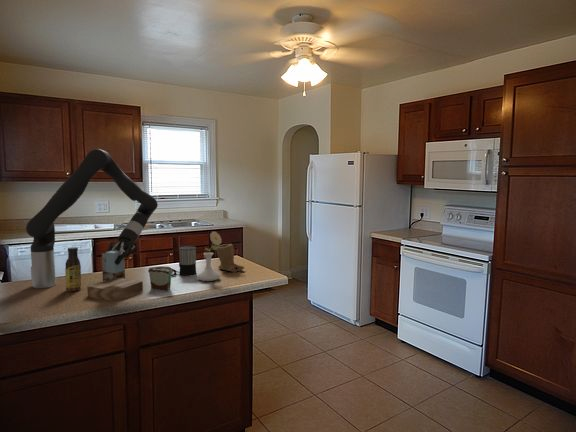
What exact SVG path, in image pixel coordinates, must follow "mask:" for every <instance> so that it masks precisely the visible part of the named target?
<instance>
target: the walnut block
mask: <svg viewBox="0 0 576 432" xmlns="http://www.w3.org/2000/svg"><path fill="white" fill-rule="evenodd" d="M143 283H144V282H143V281H142V280H135V279H128V278H125V279H123V278H114V279H110V280H107V281H103V280H102V281H100V282H97V283H93V284H89V285H87V297H88V298H95V299H101V300H107V301H111V302H117V301H119V300H123V299H125V298H127V297H131V296H133V295H136V294H139V293H142V292H144V285H143Z"/></svg>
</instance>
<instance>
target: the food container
mask: <svg viewBox="0 0 576 432" xmlns="http://www.w3.org/2000/svg"><path fill="white" fill-rule="evenodd" d="M171 268H172V267H170V266H152V267H149V268H148V270H147V272H148V274H149V281H150V290H155V291H162V292H170V291H171V284H172V282H171V281H172V276H171V274H174V272H173V271H172V269H173V268H172V269H171Z"/></svg>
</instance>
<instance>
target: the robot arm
mask: <svg viewBox="0 0 576 432" xmlns="http://www.w3.org/2000/svg"><path fill="white" fill-rule="evenodd" d="M100 170H101V171H103V172H104V173H105V174H106V175H108V176H109V177H110V178H111V179H112V181H113V182H114V183H115V184H116V185H117V187H118V188H119V190H121V191H122V193H124V194H125V195H126V196H127V197H128V198H129V199H130V200H131V201H133V202H138V203H140V205H139V206H138V208H137V210H136V212H135V213H134V214H133V216H132V217H131V219H130V220H129V221H128V223H126V225H125V227H124V228H123V230H122V231H121V233H120V234H119V235H118V240H117V241H116V242H113V241H112V242H110V243H109V245H108V248H107V250H106V252H109V251H115V250H118V251H120V254H119V255H120V256H118V257H117V259H116V260H115V262H114V263H115V264H116V265H119V263H120V262H121V261H122V259H123V258H129V256H131V255H132V254H133V252H134V251H135V250H136V249H137V247H136V246H135V243H136V242H137V240H138V238H139V237H140V235H141V234H142V232H143V230H144V228H145V226H146V224H147V223H148V221H149V219H150V217H151V216H152V215H153V214H154V212H155V211H156V209H157V208H158V207H159V206H158V201H157V200H156V199H155V197H153V195H151V194H149V192H148V193H147V192H146V191H144V190H143V189H142V188H141V187H140V186H138V184H136V183H135V182H134V181H133V180H132V178H130V177H129V176H128V175H127V174H126V173H125V172H124V171H123V170H122V168H120V167H119V165H118V164H117V163H116V162H115V160H114V159H113V157H112V156H111V155H110V153H109V152H107V151H106V150H103V149H100V148H94V149H91V150H90V151H89V152H87V154H86V155H85V157H84V158H83V160H82V161H81V163H80V164H79V165H78V167H77V168H76V169H75V171H73V173H72V174H71V175H70V176H68V178H67V179H66V180H65V181H64V182H63V183H62V184H61V185H60V187H59V188H58V189H57V190H56V192H55V193H53V195H52V196H51V197H50V199H49V200H48V202H47V203H46V204H45V205H44V206H43V207H42V209H41V210H40V211H38V212H37V213H36V214H35V215H34V216H33V217H32V218H31V219H30V220H28V222H27V223H26V226H25V228H26V234H28V236H30V237H32V238H33V240H32V243H31V245H30V258H31V263H30V264H31V266H30V273H31V274H30V275H31V278H30V279H31V286H32V288H34V289H45V288H50V287H53V286H56V266H55V249H54V247H55V243H56V229H55V227H56V226H55V221H56V219H57V218H58V217H60V215H62V214H63V213H65V212H66V211H68V210H69V208H71V207H72V206H74V204H75V203H76V202H77V201H78V200H79V199H80V197H82V195H83V194H84V192H85V191H86V188H87V187H88V184H89V183H90V180H91V179H92V178H93V177H94V175H96V174H97V173H98V172H99V171H100ZM105 262H106V260H105Z"/></svg>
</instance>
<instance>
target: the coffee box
mask: <svg viewBox="0 0 576 432" xmlns="http://www.w3.org/2000/svg"><path fill="white" fill-rule="evenodd" d="M116 250H117V249H116ZM117 251H118V250H117ZM125 258H126V257H125ZM125 258H123V263H124V271H121V272H118V273H109V272H107V271H106V262H105V260H106V252H102V253H101V262H102V263H101V264H102V266H101V267H102V268H101V269H102V282H103V281H107V280H110V279H114V278H123V279H126V266H125V265H126V264H125V263H126V260H125Z"/></svg>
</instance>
